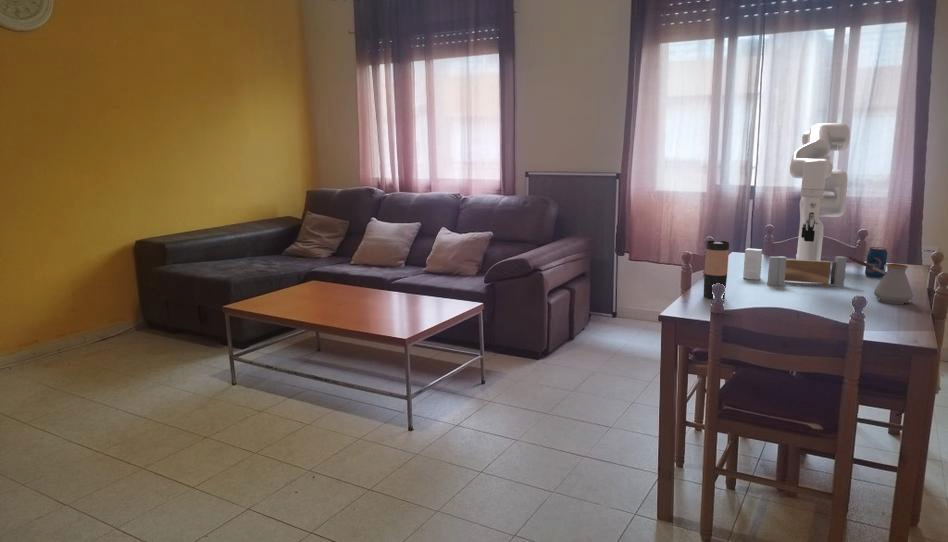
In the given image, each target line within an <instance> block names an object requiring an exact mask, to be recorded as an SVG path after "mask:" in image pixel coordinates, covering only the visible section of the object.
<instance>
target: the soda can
mask: <svg viewBox="0 0 948 542" xmlns="http://www.w3.org/2000/svg"><path fill="white" fill-rule="evenodd" d="M887 259H888V251H887V248H885V247H880V246H869V249H868V250H867V254H866V261H865V263H867V264H869V265H871V266H873V267H875V268H877V269H880V270H882V271H885V272H886V270H887V269H886V268H887V266H886V264H887V261H888V260H887ZM864 269H865V270H864V274H865V277H867V278H869V277H870V279H882V278H883V277H884V275H885V274H883V273H880V272H878V271H876V270H874V269H871V268H868V267H866V266H865V268H864Z"/></svg>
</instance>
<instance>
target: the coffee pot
mask: <svg viewBox="0 0 948 542" xmlns="http://www.w3.org/2000/svg"><path fill="white" fill-rule="evenodd" d="M846 258H847V259H846V261H845V262H846V263H847V262H848V261H849V260H850V261H851V260H852V262H853V263H857V264H859V265H861V266H864V267H865V268H866V267H868V268H871V269H874V270H876V271H878V272H880V273H883V274H885V275H884V277H883V278H881V280H880V281H879V283H878V284H877V286H876V287H875V289H874V291H873V294H874V296H875V297H876V298H877V299H880V300H879V302H882V303H885V302H886V303H885V304H891V305H904V303H905V304H906V303H907V302H909V301H911V300H912V299H913V297H914V294H913V292H912V291H913V290H912V288H911V285H910V281H909V279H908V277H907V274H906V271H907V269H908V268H909V266H908V265H905V264H902V263H901V264H900V263H886V268H887V269H886V270H885V271H882V270H880V269H877V268H875V267H873V266H871V265H869V264H867V263H866V261H865V262H864V261H862V260H859V259H857V258H853V257H852V256H847V257H846Z"/></svg>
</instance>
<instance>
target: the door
mask: <svg viewBox="0 0 948 542" xmlns="http://www.w3.org/2000/svg"><path fill="white" fill-rule="evenodd" d="M835 267H836V262H835V261H832V262H831V261H827V260H823V261H822V260H820V261H811V260H796V259H794V258H793V259H792V258H791V259H789V258H787V260H786V270H785V280H784V282H796V283H797V282H798V283H826V284H829V283H830V284H834V275H835Z"/></svg>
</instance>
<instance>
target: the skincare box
mask: <svg viewBox="0 0 948 542" xmlns="http://www.w3.org/2000/svg"><path fill="white" fill-rule="evenodd" d="M762 259H763V248H761V249H760V248H751V247H748V248H746V249H744V260H743V261H744V262H743V275H742V276H743V277H742V278H743V279H744V278H746V279H747V280H760V279H761V275H762V261H763V260H762Z"/></svg>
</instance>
